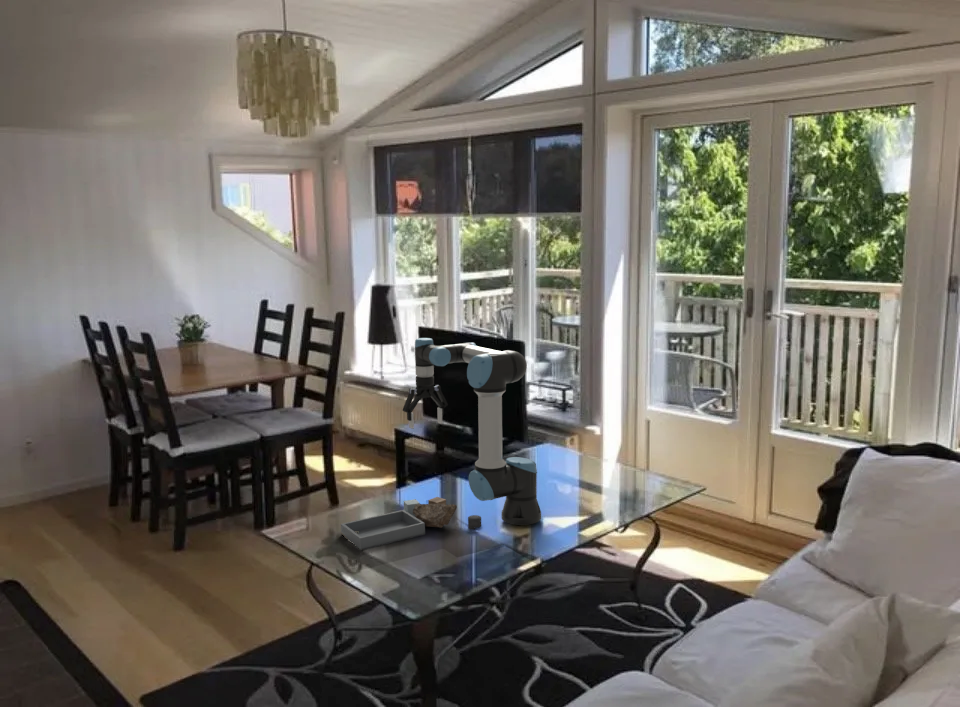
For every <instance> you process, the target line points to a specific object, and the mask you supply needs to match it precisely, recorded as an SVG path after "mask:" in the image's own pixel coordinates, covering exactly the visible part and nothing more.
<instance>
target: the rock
mask: <svg viewBox="0 0 960 707" xmlns="http://www.w3.org/2000/svg"><path fill="white" fill-rule="evenodd" d="M457 508H458V507H457V505H456V504H447V503H446V504H428V503H420V504H416V505H415V508H414V509H413V514H415V517H416V518H417V519H419V520H421V521H422V522H424V523H425V528H426V527H428V528H438V529H439V528H440V529H441V528H444V526H448V525H449V524H450V521H451V519H452V517H453V516H454V514H455V512H456V510H457Z"/></svg>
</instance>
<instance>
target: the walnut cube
mask: <svg viewBox="0 0 960 707" xmlns="http://www.w3.org/2000/svg"><path fill="white" fill-rule="evenodd" d="M427 502H428V503H427V504H446V505H447V499H446V498H442V497H439V496H436V497H433V498H430V499H428V500H427Z"/></svg>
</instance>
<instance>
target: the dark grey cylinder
mask: <svg viewBox="0 0 960 707" xmlns="http://www.w3.org/2000/svg"><path fill="white" fill-rule="evenodd" d="M467 527H468V528H467V529H469V530H471V531H472V530H475V529H478V528H480V527H482V517H481V515H479V514H478V515H477V514H475V515H473V514H472V515H469V516H468V517H467ZM475 531H476V530H475Z"/></svg>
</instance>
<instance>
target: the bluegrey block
mask: <svg viewBox="0 0 960 707" xmlns="http://www.w3.org/2000/svg"><path fill="white" fill-rule="evenodd" d="M416 504H421V503H420V502H419V501H418V500H417V499H415V498H414V499H409V500H403V510H404V511H406V512H408V513H409V514H411V515H413V516H414V517H415V514H413V509H414V508H415V505H416Z"/></svg>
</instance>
